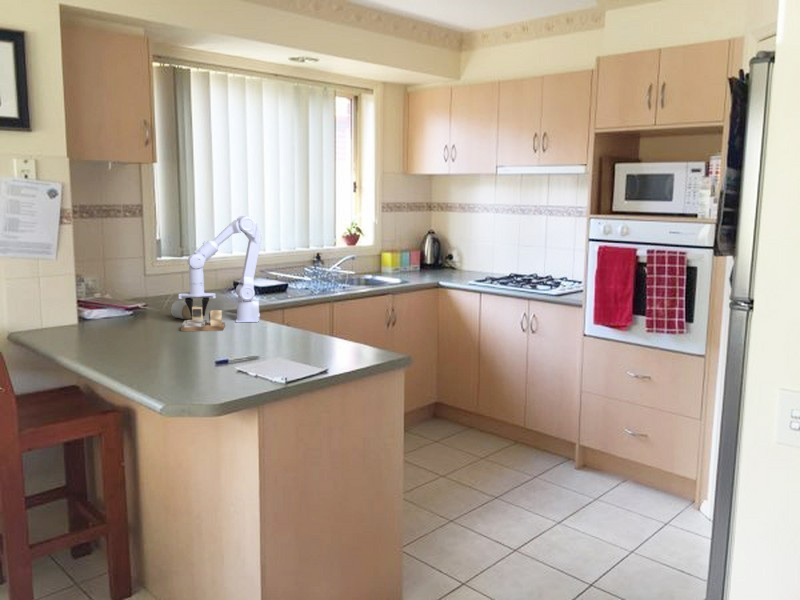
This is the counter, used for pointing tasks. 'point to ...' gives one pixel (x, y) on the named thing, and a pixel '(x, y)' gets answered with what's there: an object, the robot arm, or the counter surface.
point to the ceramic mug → (180, 310)
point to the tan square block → (197, 313)
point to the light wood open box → (205, 323)
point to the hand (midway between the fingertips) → (198, 315)
